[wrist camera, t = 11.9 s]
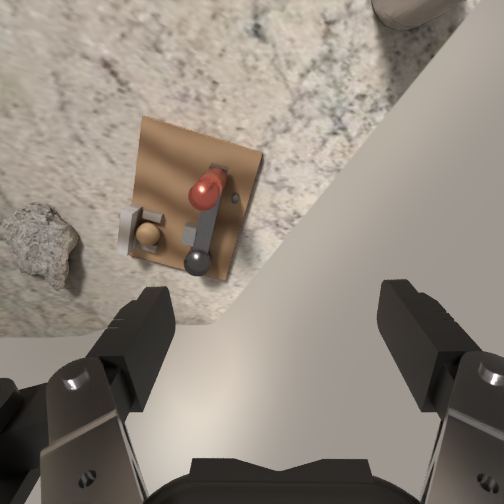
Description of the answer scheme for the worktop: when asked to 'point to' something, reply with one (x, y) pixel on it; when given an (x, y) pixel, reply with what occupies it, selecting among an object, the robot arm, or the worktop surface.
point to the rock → (40, 242)
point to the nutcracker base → (184, 193)
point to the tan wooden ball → (147, 234)
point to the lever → (203, 219)
